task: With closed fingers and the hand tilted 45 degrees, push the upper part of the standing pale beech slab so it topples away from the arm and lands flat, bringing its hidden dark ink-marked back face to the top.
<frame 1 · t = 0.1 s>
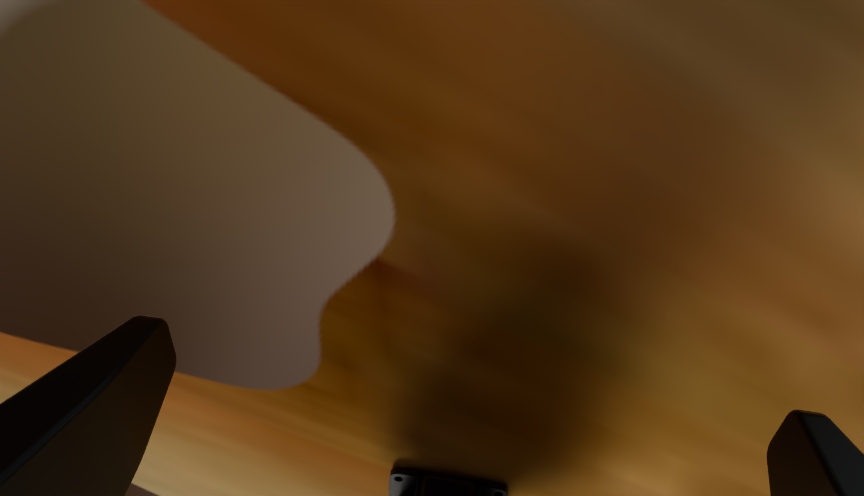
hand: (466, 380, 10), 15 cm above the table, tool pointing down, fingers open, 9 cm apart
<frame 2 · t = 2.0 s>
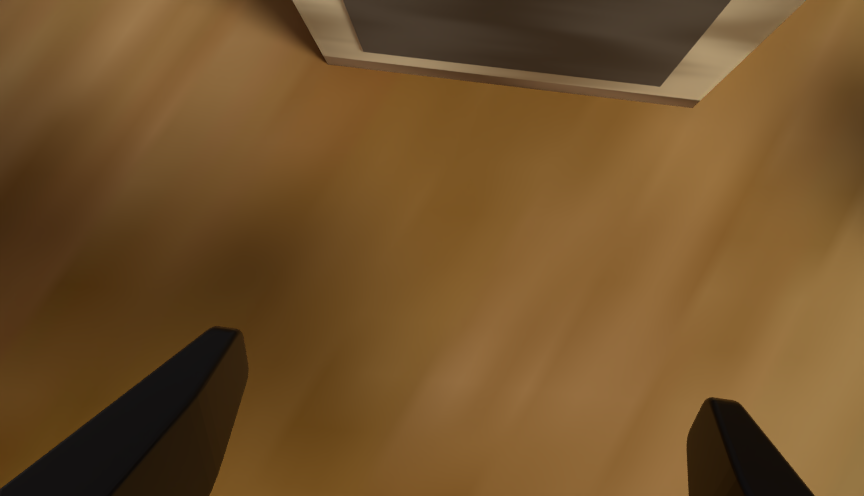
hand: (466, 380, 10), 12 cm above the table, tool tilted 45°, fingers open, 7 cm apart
slab: (514, 28, 22), on the table
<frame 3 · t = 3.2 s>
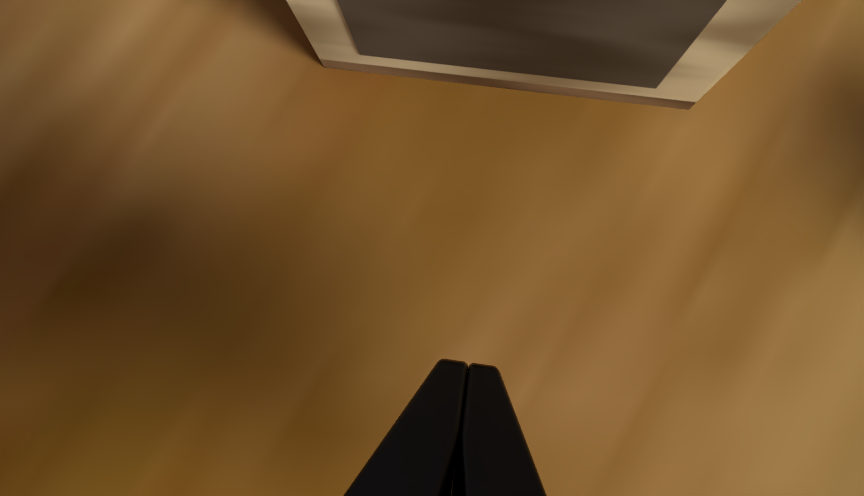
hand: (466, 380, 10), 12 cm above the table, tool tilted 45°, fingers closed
slab: (510, 30, 22), on the table
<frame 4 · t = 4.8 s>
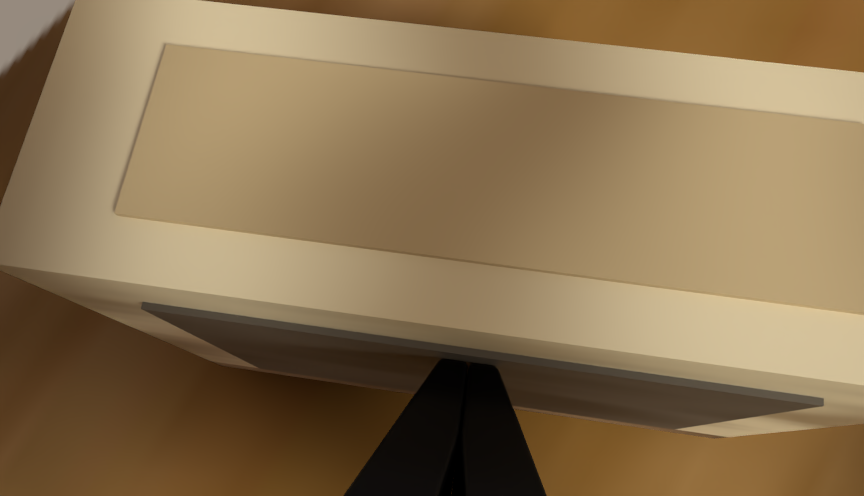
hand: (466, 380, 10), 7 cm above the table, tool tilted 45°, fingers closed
slab: (472, 320, 17), on the table, tilted 11°
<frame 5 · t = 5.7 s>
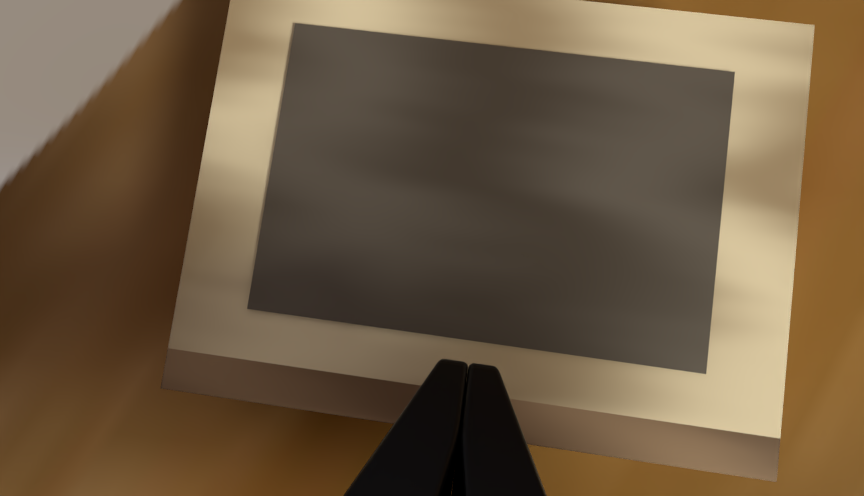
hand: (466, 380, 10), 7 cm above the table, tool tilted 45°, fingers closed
slab: (460, 419, 15), point 2 cm above the table, tilted 90°
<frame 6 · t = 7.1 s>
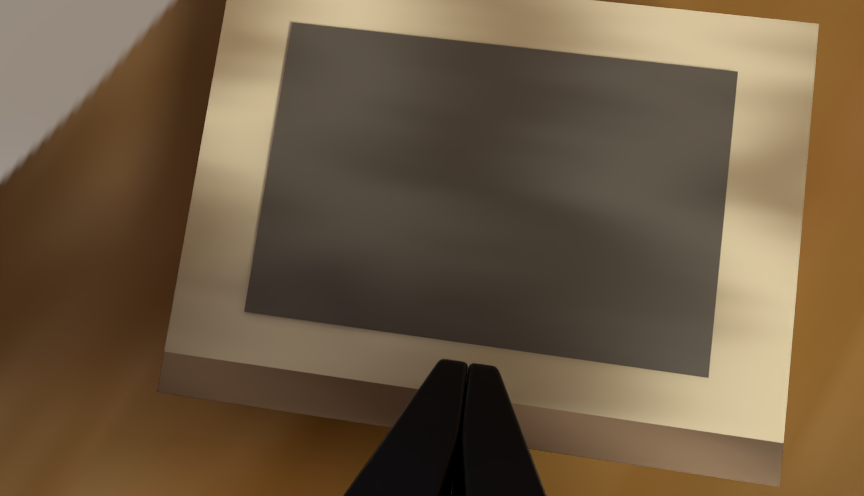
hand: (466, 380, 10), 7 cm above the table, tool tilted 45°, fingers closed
slab: (459, 422, 15), point 2 cm above the table, tilted 90°
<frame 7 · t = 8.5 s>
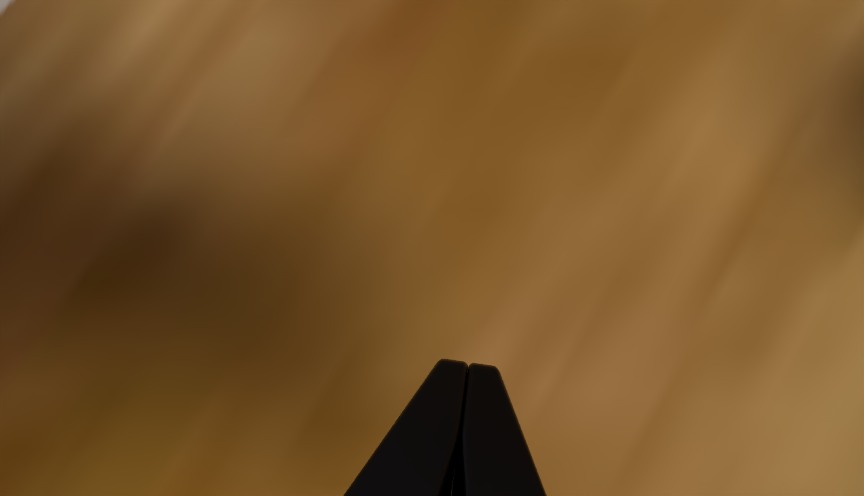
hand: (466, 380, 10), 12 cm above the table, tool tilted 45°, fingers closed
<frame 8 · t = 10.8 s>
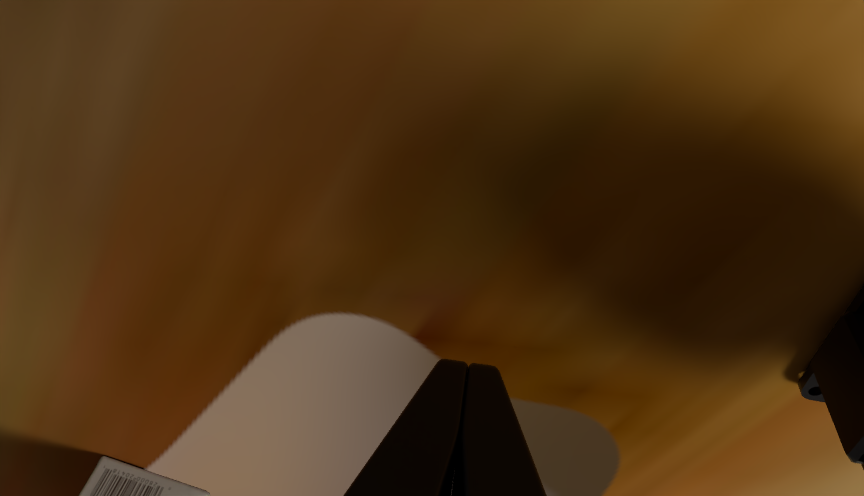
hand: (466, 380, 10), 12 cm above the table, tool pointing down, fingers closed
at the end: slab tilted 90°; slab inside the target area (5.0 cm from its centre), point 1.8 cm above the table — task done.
